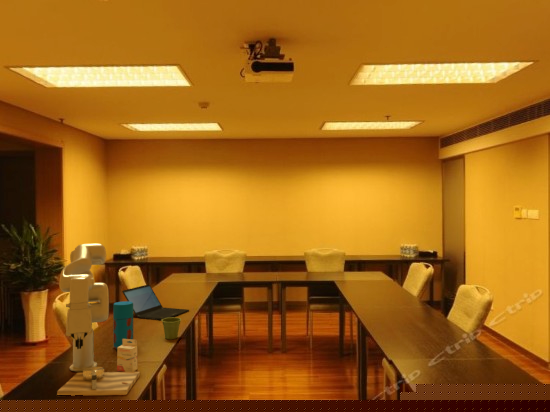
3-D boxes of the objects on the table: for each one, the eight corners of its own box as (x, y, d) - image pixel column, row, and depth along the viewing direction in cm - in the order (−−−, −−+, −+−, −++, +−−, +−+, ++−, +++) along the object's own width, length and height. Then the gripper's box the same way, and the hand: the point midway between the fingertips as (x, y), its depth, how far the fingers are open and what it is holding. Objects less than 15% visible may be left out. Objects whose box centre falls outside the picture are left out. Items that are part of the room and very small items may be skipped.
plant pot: (163, 341, 275) (163, 322, 275) (159, 336, 285) (159, 318, 285) (183, 339, 279) (183, 320, 280) (179, 334, 290) (178, 316, 290)
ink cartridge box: (116, 371, 225) (116, 341, 225) (122, 368, 230) (122, 338, 230) (132, 372, 223) (132, 342, 223) (137, 369, 228) (137, 339, 228)
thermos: (110, 346, 265) (109, 303, 265) (127, 342, 272) (127, 300, 273) (119, 350, 257) (119, 306, 257) (136, 346, 265) (136, 303, 265)
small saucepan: (83, 375, 213) (83, 362, 213) (103, 372, 217) (103, 360, 217) (82, 391, 194) (82, 377, 194) (105, 388, 198) (105, 374, 198)
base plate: (77, 376, 218) (77, 372, 218) (139, 375, 219) (139, 371, 219) (57, 395, 196) (57, 390, 196) (126, 394, 197) (126, 389, 197)
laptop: (165, 321, 325) (165, 294, 325) (121, 317, 338) (121, 290, 338) (189, 311, 356) (189, 286, 356) (149, 308, 369) (149, 283, 370)
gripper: (59, 309, 194) (59, 352, 194) (97, 306, 200) (97, 348, 200) (60, 305, 201) (60, 347, 201) (97, 302, 207) (97, 343, 207)
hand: (79, 348), depth 200 cm, fingers closed
